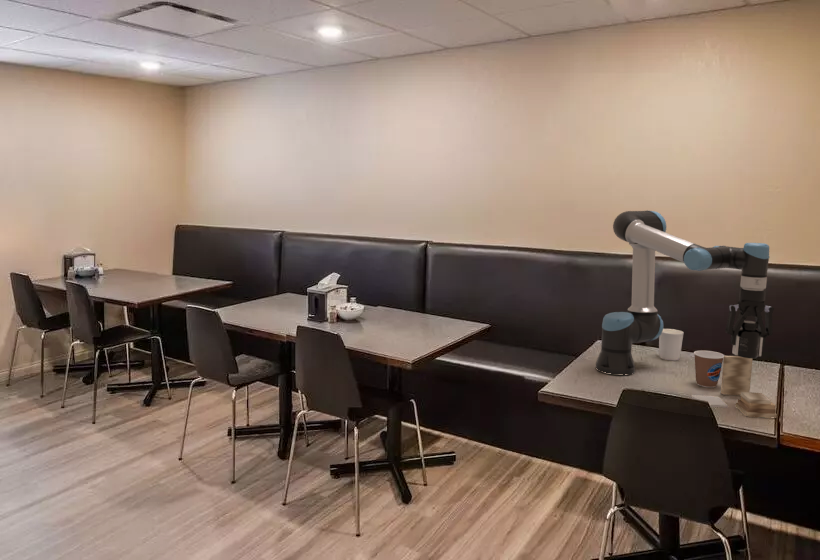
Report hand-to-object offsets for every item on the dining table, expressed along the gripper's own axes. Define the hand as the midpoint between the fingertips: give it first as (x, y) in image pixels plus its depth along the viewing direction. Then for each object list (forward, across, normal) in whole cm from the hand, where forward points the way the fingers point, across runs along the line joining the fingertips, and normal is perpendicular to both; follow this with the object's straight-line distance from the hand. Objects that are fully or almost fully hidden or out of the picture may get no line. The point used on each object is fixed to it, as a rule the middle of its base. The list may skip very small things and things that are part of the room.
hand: (746, 354), depth 199 cm
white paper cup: (+17, -9, +53) cm, 57 cm away
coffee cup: (+17, -6, +17) cm, 25 cm away
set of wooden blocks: (+17, 0, -4) cm, 17 cm away
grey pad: (+17, -12, -3) cm, 21 cm away
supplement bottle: (+1, 0, 0) cm, 1 cm away
